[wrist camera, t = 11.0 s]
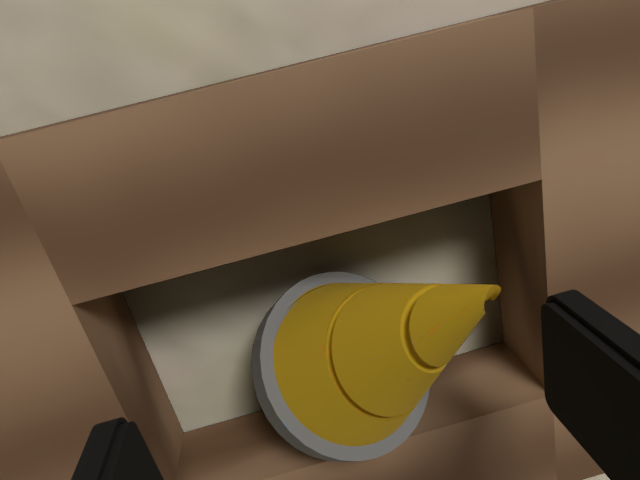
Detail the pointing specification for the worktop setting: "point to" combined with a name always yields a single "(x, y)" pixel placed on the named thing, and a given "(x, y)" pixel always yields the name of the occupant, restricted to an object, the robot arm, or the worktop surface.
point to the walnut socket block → (327, 233)
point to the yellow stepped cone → (358, 359)
